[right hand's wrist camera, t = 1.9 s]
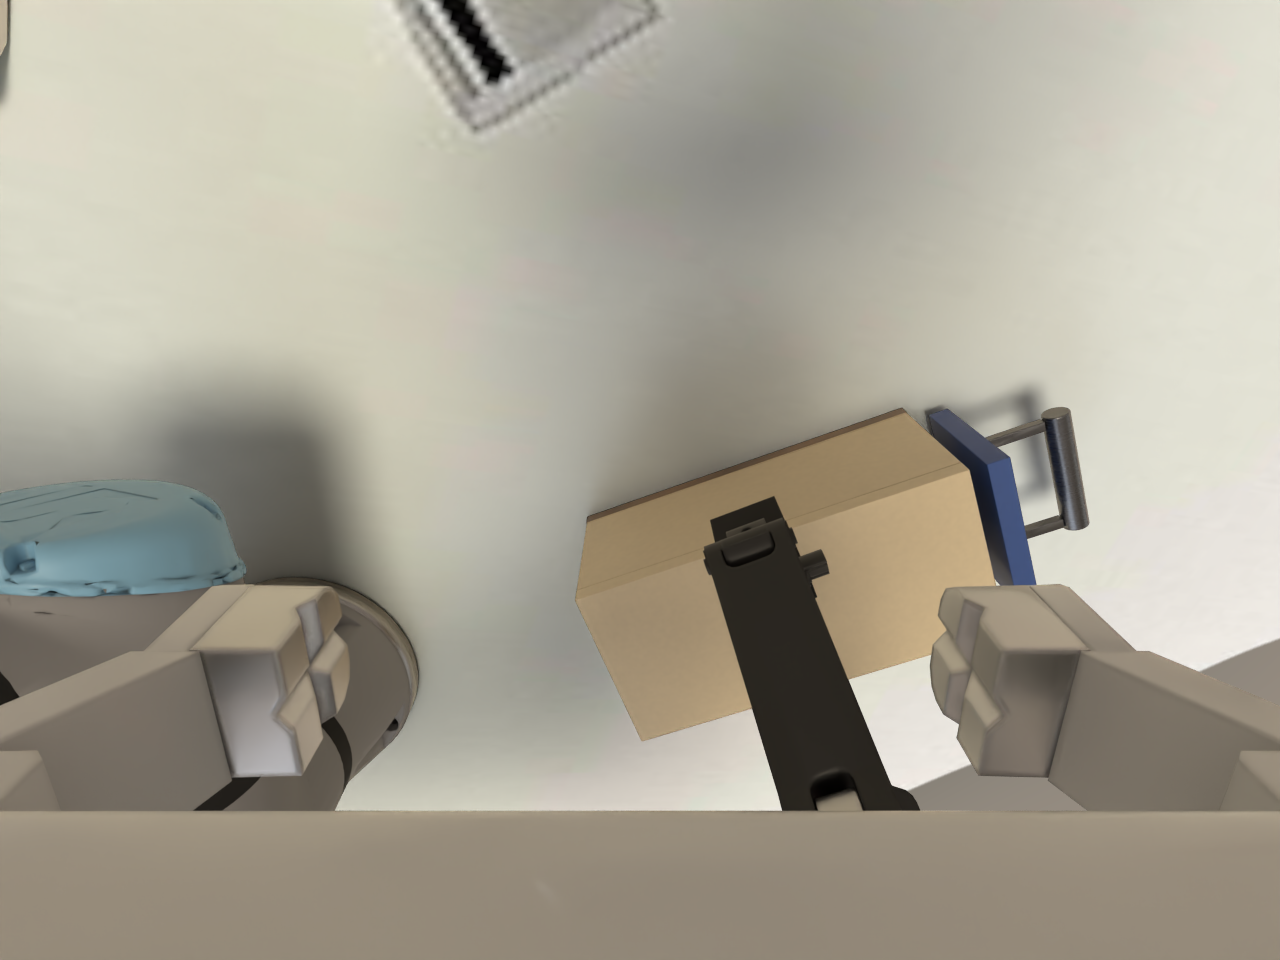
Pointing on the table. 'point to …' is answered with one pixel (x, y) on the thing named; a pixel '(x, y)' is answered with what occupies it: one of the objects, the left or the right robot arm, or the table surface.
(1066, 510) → the drawer
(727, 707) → the cabinet
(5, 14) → the tablet stand
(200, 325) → the table surface
